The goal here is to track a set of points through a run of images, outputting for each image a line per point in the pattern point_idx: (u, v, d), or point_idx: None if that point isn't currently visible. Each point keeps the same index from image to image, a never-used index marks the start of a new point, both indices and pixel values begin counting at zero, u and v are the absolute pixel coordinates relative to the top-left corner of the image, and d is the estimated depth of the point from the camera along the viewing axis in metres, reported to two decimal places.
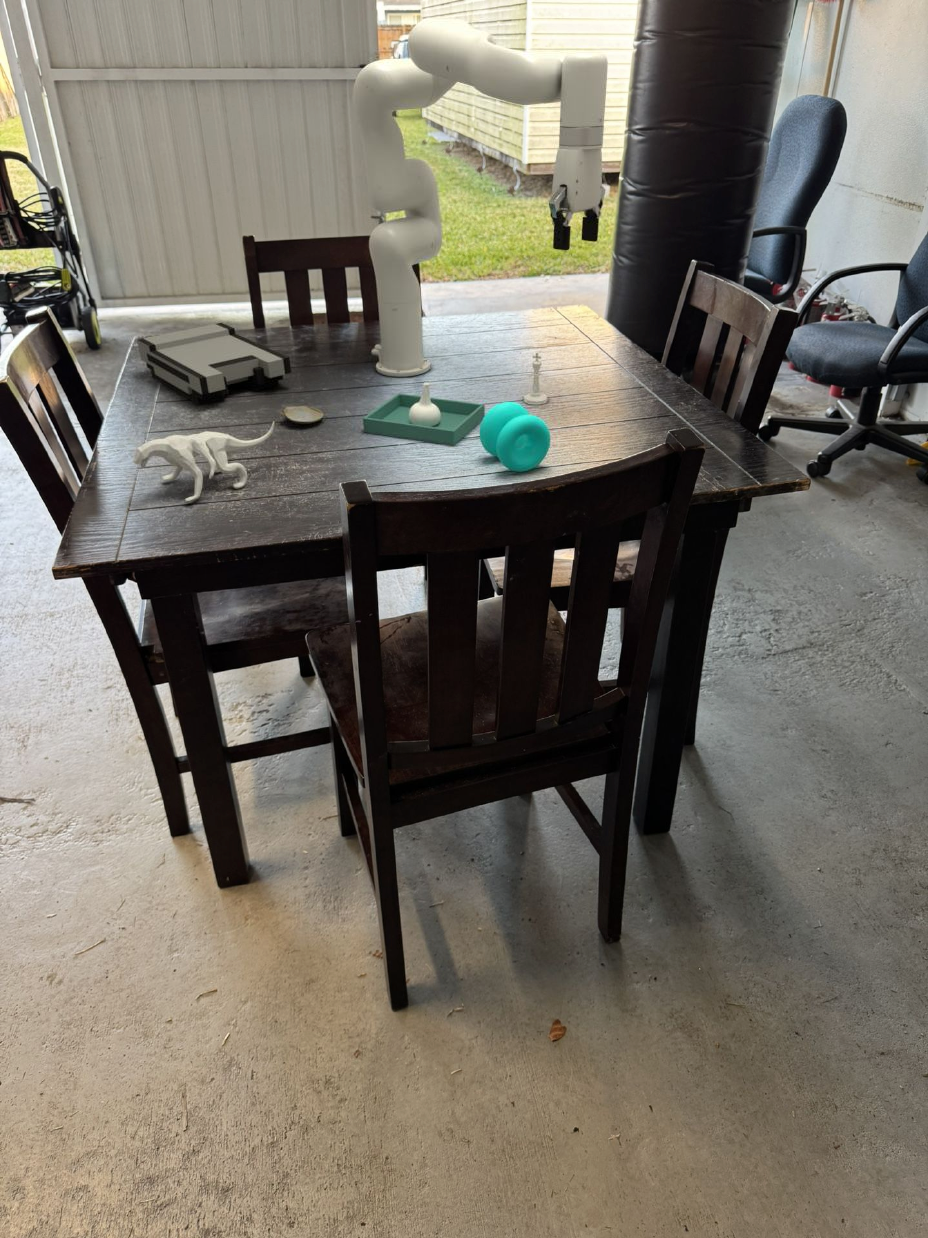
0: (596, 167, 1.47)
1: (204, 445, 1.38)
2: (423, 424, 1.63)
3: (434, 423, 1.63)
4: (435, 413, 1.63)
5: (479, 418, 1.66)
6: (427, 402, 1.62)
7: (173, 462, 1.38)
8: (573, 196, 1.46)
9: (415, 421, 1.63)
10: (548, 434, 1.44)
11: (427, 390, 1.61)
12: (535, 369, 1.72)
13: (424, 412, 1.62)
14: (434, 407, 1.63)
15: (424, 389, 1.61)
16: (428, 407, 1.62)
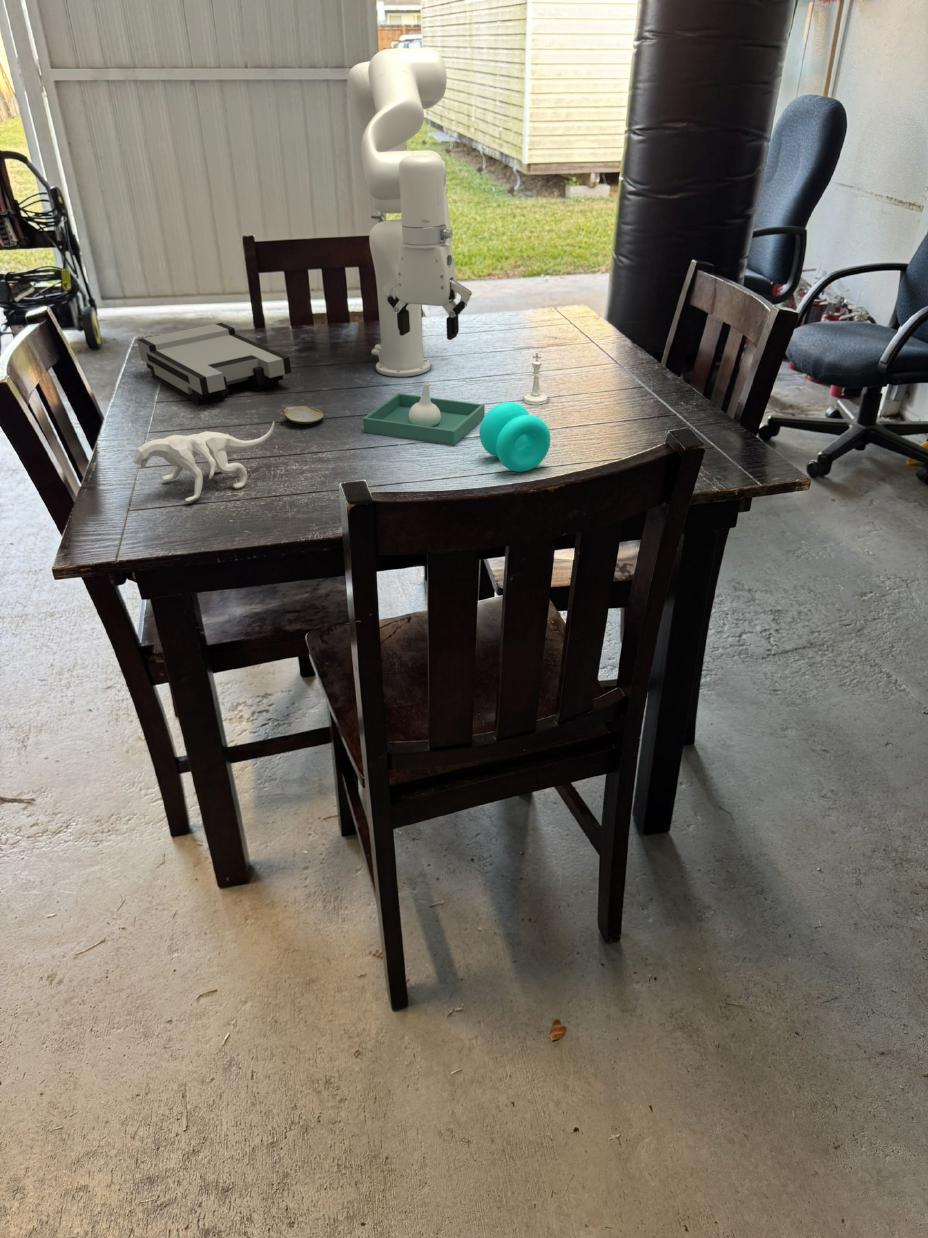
0: (427, 266, 1.47)
1: (204, 445, 1.38)
2: (423, 424, 1.63)
3: (434, 423, 1.63)
4: (435, 413, 1.63)
5: (479, 418, 1.66)
6: (427, 402, 1.62)
7: (173, 462, 1.38)
8: (397, 287, 1.52)
9: (415, 421, 1.63)
10: (548, 434, 1.44)
11: (427, 390, 1.61)
12: (535, 369, 1.72)
13: (424, 412, 1.62)
14: (434, 407, 1.63)
15: (424, 389, 1.61)
16: (428, 407, 1.62)
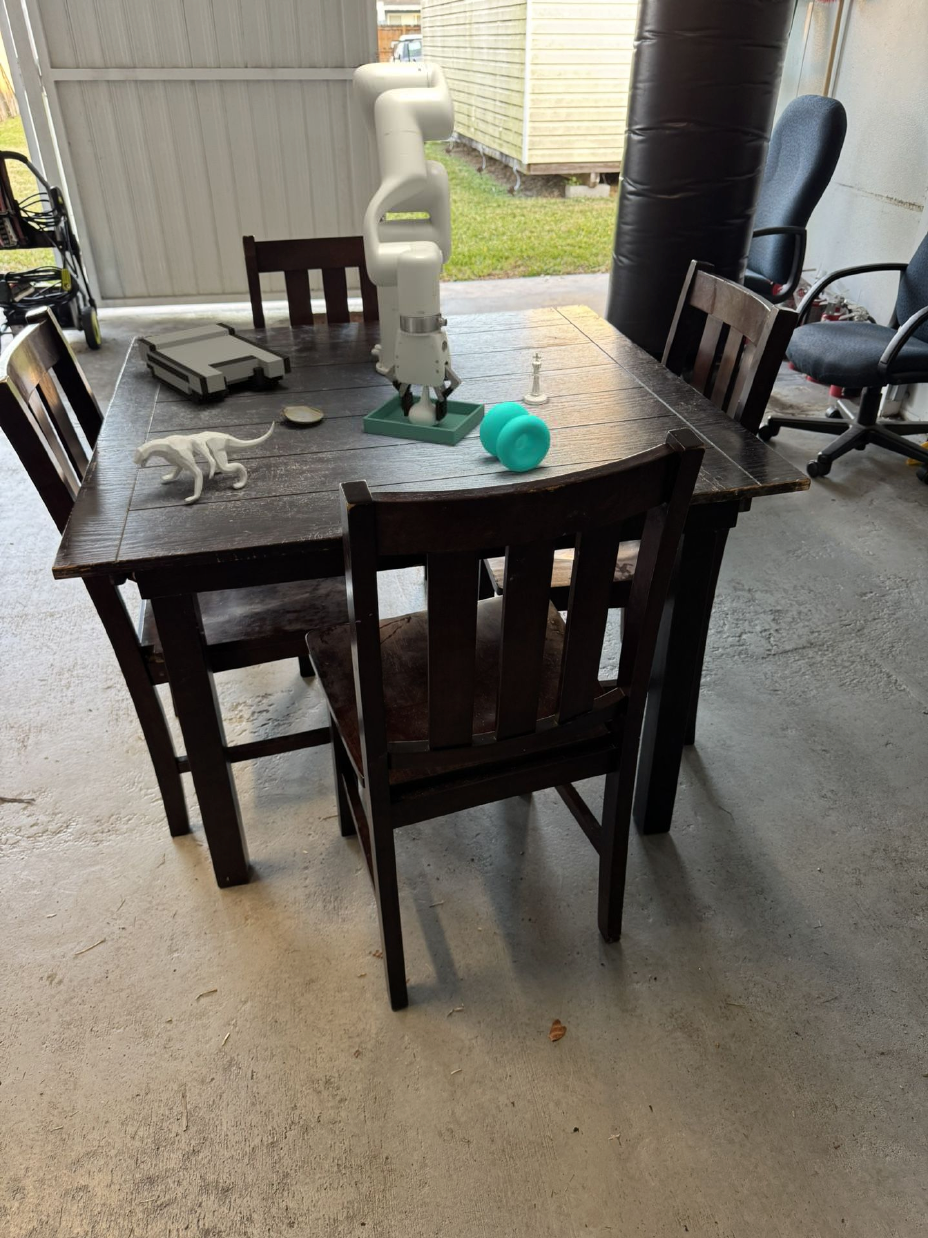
0: (423, 352, 1.55)
1: (204, 445, 1.38)
2: (423, 424, 1.63)
3: (434, 423, 1.63)
4: (435, 413, 1.63)
5: (479, 418, 1.66)
6: (427, 402, 1.62)
7: (173, 462, 1.38)
8: (395, 368, 1.60)
9: (415, 421, 1.63)
10: (548, 434, 1.44)
11: (427, 390, 1.61)
12: (535, 369, 1.72)
13: (424, 412, 1.62)
14: (434, 407, 1.63)
15: (424, 389, 1.61)
16: (428, 407, 1.62)
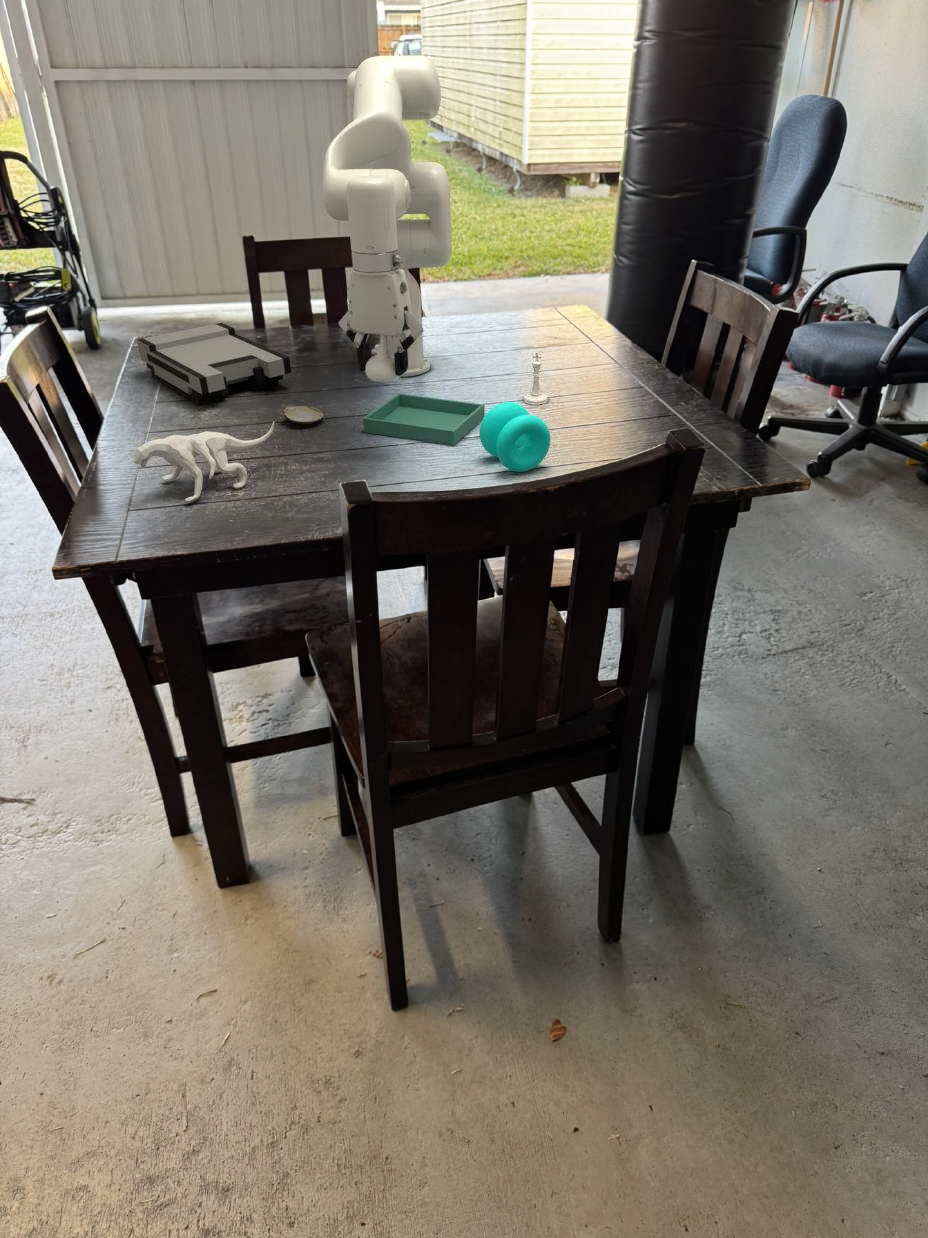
0: (379, 294, 1.37)
1: (204, 445, 1.38)
2: (381, 379, 1.45)
3: (394, 378, 1.45)
4: (394, 367, 1.45)
5: (479, 418, 1.66)
6: (385, 354, 1.44)
7: (173, 462, 1.38)
8: (349, 315, 1.42)
9: (372, 375, 1.45)
10: (548, 434, 1.44)
11: (385, 340, 1.43)
12: (535, 369, 1.72)
13: (382, 365, 1.44)
14: (394, 360, 1.45)
15: (382, 339, 1.43)
16: (386, 359, 1.44)
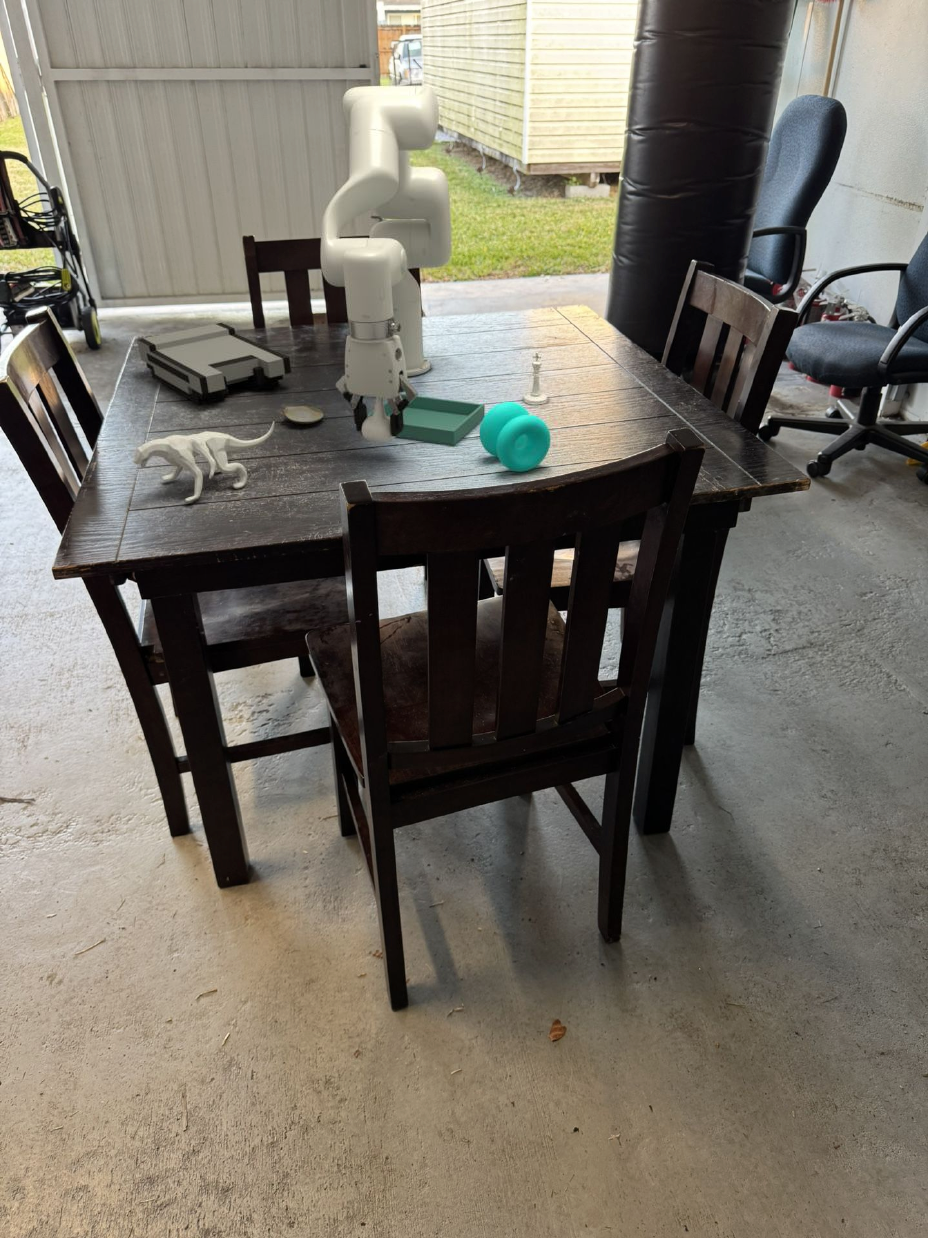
0: (375, 360, 1.40)
1: (204, 445, 1.38)
2: (377, 439, 1.48)
3: (389, 438, 1.49)
4: (390, 428, 1.48)
5: (479, 418, 1.66)
6: (381, 416, 1.47)
7: (173, 462, 1.38)
8: (345, 378, 1.45)
9: (368, 436, 1.48)
10: (548, 434, 1.44)
11: (381, 402, 1.47)
12: (535, 369, 1.72)
13: (378, 426, 1.47)
14: (389, 421, 1.48)
15: (378, 401, 1.46)
16: (382, 420, 1.48)
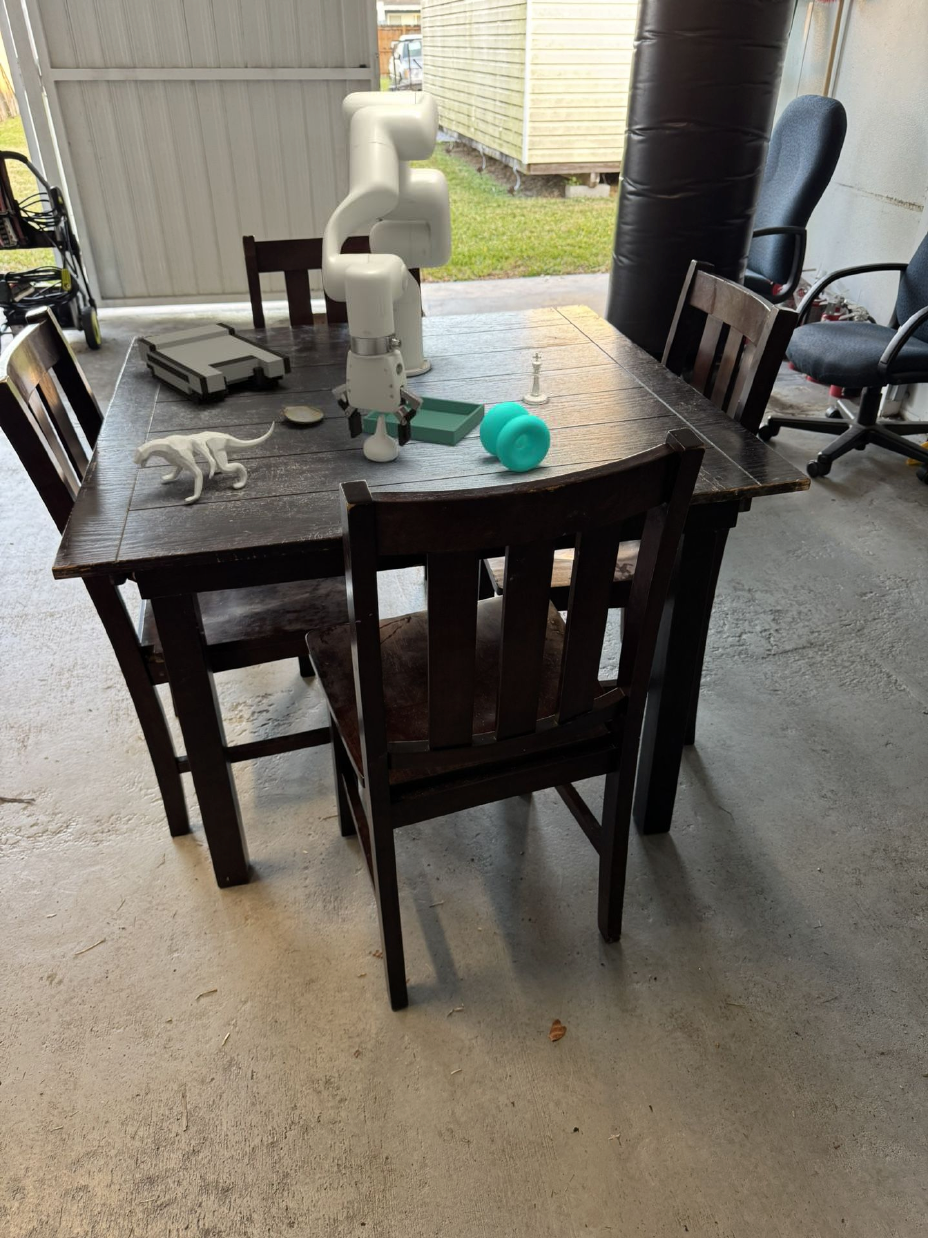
0: (376, 375, 1.42)
1: (204, 445, 1.38)
2: (378, 459, 1.50)
3: (391, 458, 1.51)
4: (391, 447, 1.50)
5: (479, 418, 1.66)
6: (382, 436, 1.50)
7: (173, 462, 1.38)
8: (347, 392, 1.47)
9: (369, 455, 1.50)
10: (548, 434, 1.44)
11: (382, 422, 1.49)
12: (535, 369, 1.72)
13: (379, 446, 1.49)
14: (391, 440, 1.50)
15: (379, 421, 1.49)
16: (383, 440, 1.50)
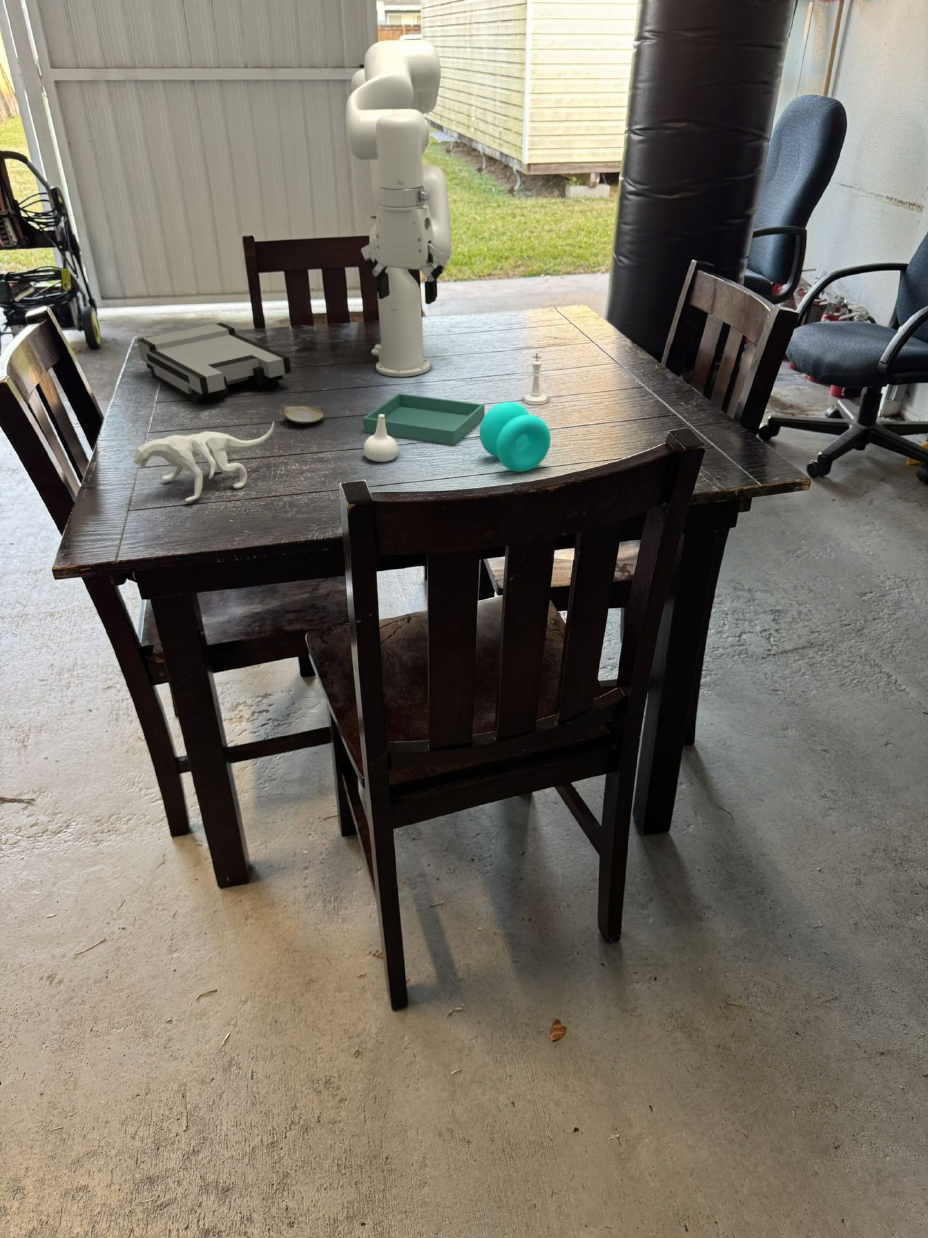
0: (405, 229, 1.46)
1: (204, 445, 1.38)
2: (378, 459, 1.50)
3: (391, 458, 1.51)
4: (391, 447, 1.50)
5: (479, 418, 1.66)
6: (382, 436, 1.50)
7: (173, 462, 1.38)
8: (376, 250, 1.51)
9: (369, 455, 1.50)
10: (548, 434, 1.44)
11: (382, 422, 1.49)
12: (535, 369, 1.72)
13: (379, 446, 1.49)
14: (391, 440, 1.50)
15: (379, 421, 1.49)
16: (383, 440, 1.50)
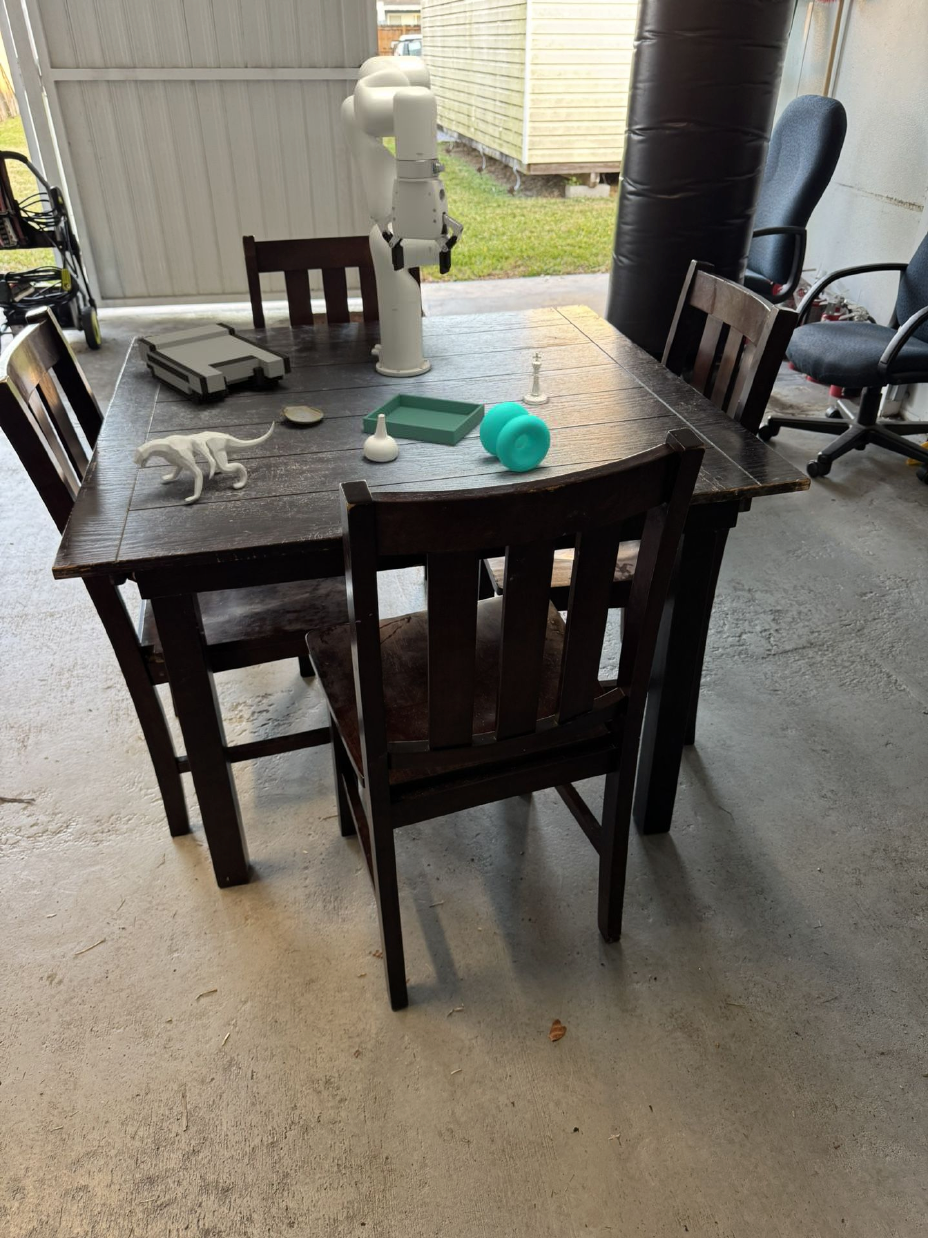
0: (420, 200, 1.51)
1: (204, 445, 1.38)
2: (378, 459, 1.50)
3: (391, 458, 1.51)
4: (391, 447, 1.50)
5: (479, 418, 1.66)
6: (382, 436, 1.50)
7: (173, 462, 1.38)
8: (391, 222, 1.56)
9: (369, 455, 1.50)
10: (548, 434, 1.44)
11: (382, 422, 1.49)
12: (535, 369, 1.72)
13: (379, 446, 1.49)
14: (391, 440, 1.50)
15: (379, 421, 1.49)
16: (383, 440, 1.50)
